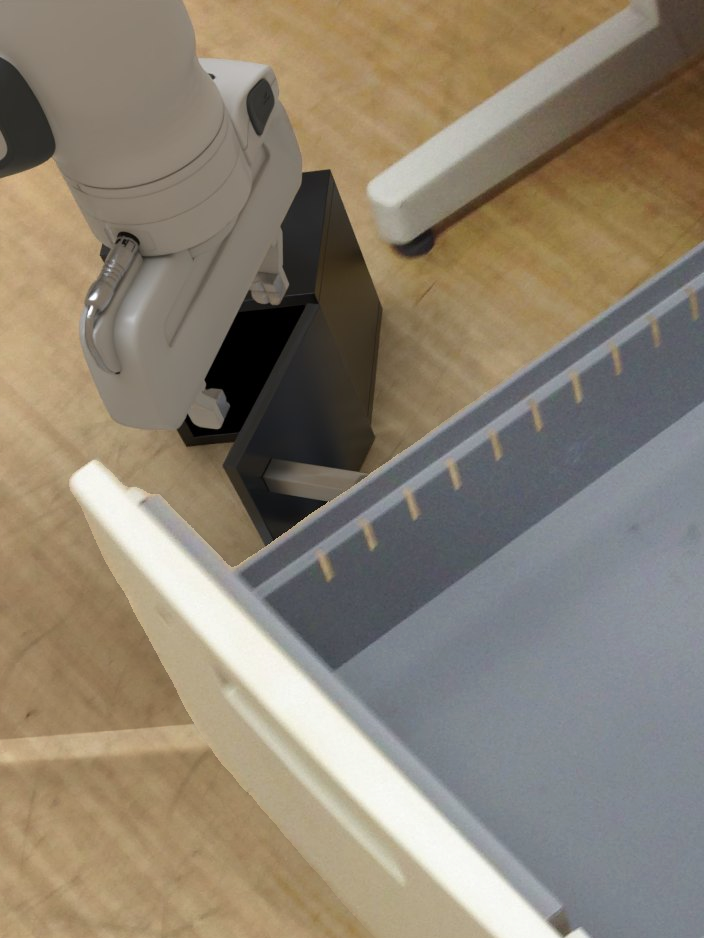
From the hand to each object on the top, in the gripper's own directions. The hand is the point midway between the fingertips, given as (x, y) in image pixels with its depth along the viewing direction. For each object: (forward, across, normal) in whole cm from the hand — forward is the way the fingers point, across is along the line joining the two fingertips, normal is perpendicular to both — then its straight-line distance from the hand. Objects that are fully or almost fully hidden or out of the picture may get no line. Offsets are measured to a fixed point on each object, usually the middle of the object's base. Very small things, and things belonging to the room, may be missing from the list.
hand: (244, 355), depth 103 cm
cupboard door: (+24, +6, 0) cm, 24 cm away
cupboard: (+24, +18, +12) cm, 32 cm away
